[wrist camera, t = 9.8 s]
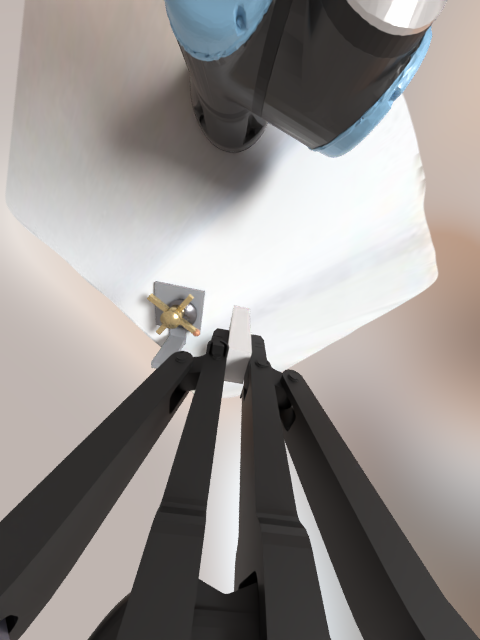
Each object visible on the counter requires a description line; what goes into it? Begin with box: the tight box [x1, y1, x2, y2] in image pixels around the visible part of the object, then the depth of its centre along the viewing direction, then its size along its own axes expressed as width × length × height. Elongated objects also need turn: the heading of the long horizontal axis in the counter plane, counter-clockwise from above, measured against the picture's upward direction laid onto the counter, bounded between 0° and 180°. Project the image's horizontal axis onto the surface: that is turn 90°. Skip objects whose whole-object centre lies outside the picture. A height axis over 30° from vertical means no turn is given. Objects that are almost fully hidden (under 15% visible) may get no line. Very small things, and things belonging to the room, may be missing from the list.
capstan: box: [147, 294, 200, 336], centre depth 51 cm, size 17×16×7 cm
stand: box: [151, 281, 205, 369], centre depth 50 cm, size 20×14×14 cm
